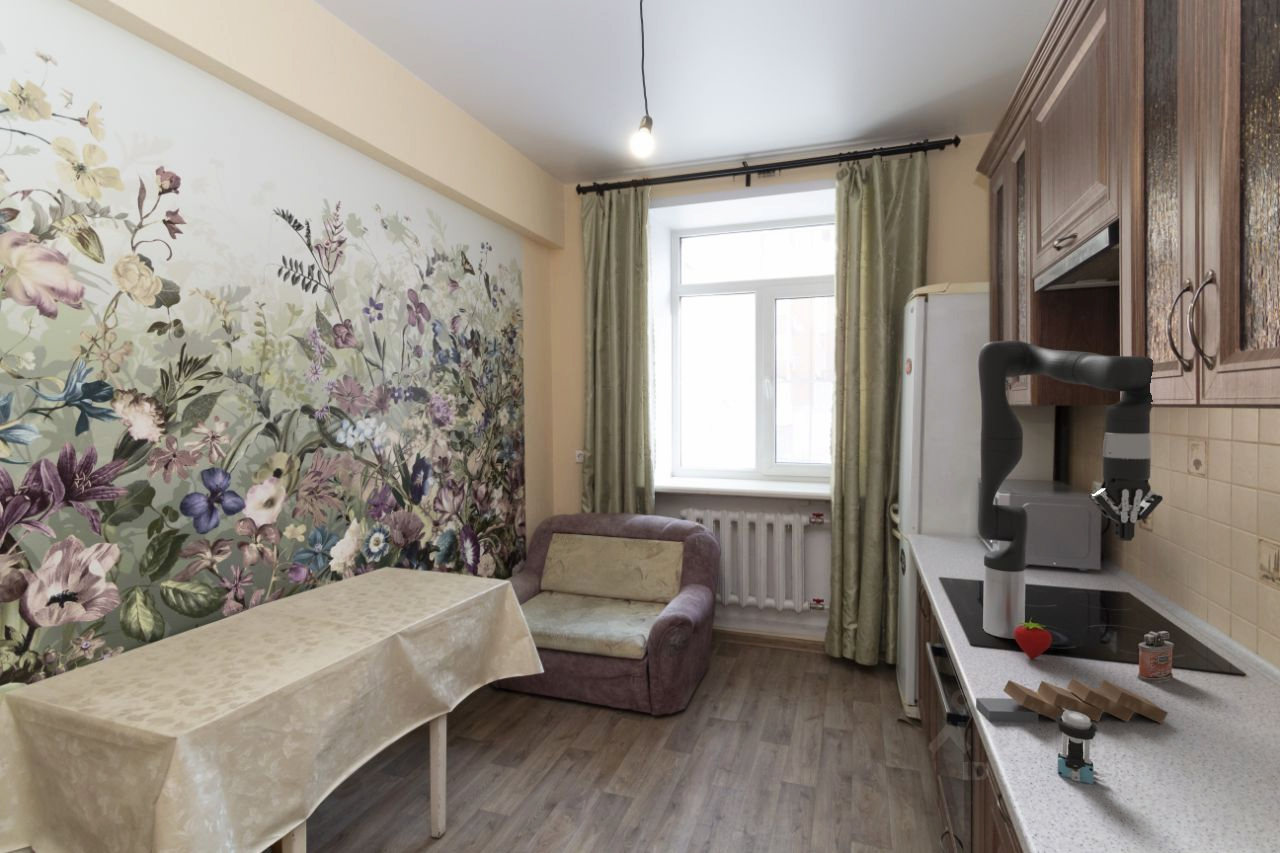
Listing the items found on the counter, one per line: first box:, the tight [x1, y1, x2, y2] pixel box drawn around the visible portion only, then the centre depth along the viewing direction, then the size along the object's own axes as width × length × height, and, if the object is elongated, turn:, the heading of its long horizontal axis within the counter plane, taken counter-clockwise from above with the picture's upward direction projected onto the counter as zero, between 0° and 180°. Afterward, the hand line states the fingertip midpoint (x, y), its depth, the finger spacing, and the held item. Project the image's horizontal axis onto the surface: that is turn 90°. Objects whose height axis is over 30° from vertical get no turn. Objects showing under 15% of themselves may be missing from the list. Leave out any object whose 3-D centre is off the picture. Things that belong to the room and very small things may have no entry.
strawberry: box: [1014, 617, 1053, 659], centre depth 141 cm, size 6×8×10 cm
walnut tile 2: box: [1066, 677, 1135, 723], centre depth 116 cm, size 2×5×9 cm
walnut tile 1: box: [1097, 679, 1169, 725], centre depth 115 cm, size 2×5×9 cm
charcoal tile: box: [975, 697, 1039, 723], centre depth 117 cm, size 2×5×9 cm
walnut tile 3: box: [1036, 680, 1104, 723], centre depth 116 cm, size 2×5×9 cm
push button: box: [1055, 710, 1107, 785], centre depth 97 cm, size 7×5×10 cm
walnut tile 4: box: [1002, 679, 1066, 721], centre depth 116 cm, size 2×5×9 cm
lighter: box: [1137, 630, 1175, 684], centre depth 131 cm, size 8×3×10 cm, turn 106°
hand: (1124, 539), depth 123 cm, fingers closed
